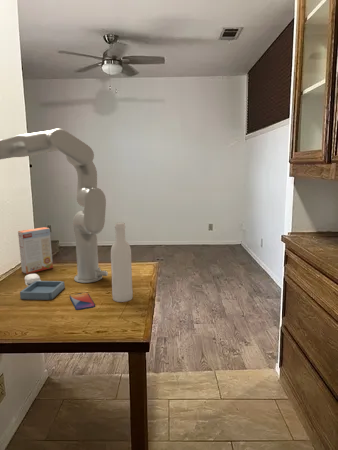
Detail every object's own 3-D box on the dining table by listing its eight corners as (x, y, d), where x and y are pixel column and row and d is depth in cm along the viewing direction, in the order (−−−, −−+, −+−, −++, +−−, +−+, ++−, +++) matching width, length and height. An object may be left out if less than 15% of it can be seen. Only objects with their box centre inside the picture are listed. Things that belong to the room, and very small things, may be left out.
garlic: (42, 283, 158) (42, 275, 158) (26, 286, 155) (25, 278, 154) (38, 279, 165) (37, 271, 164) (23, 281, 161) (22, 273, 161)
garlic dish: (65, 287, 152) (64, 281, 152) (51, 299, 139) (51, 293, 138) (35, 286, 154) (35, 280, 153) (19, 299, 140) (19, 292, 139)
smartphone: (75, 312, 129) (75, 309, 128) (69, 297, 142) (69, 294, 142) (96, 308, 132) (96, 305, 131) (87, 294, 145) (87, 291, 145)
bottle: (113, 295, 143) (110, 221, 138) (132, 294, 144) (130, 221, 138) (111, 302, 135) (108, 225, 130) (132, 301, 136) (130, 224, 131)
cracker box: (47, 266, 185) (44, 226, 181) (53, 268, 181) (50, 228, 177) (21, 272, 175) (17, 230, 172) (26, 274, 171) (22, 232, 167)
